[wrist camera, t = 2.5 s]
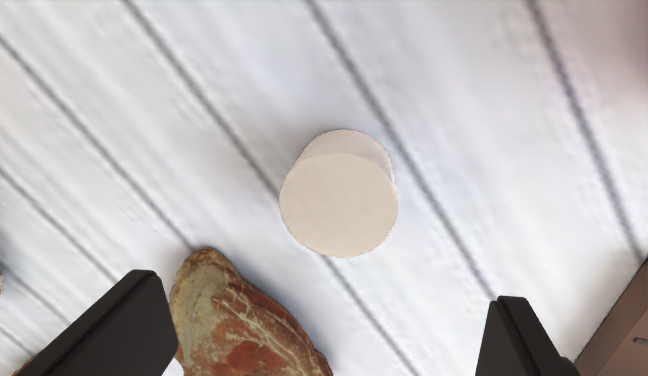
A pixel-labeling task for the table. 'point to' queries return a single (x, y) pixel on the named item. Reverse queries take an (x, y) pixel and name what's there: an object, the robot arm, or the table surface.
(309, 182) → the cream cylinder puck
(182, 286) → the stone
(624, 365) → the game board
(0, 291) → the fossil replica
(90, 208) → the table surface
